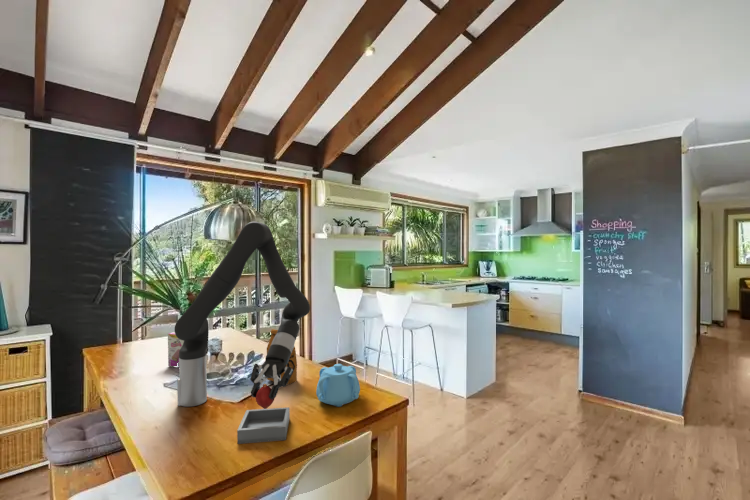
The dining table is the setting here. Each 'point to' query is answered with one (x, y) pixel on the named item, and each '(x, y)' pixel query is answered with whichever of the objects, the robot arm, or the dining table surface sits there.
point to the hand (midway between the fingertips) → (262, 397)
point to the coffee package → (291, 362)
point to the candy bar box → (173, 349)
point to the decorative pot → (338, 385)
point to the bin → (264, 425)
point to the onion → (264, 397)
